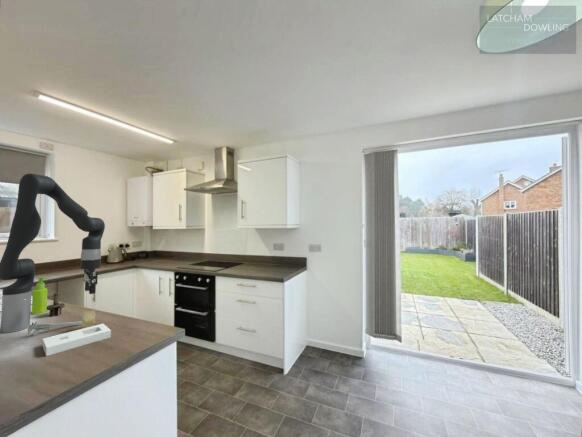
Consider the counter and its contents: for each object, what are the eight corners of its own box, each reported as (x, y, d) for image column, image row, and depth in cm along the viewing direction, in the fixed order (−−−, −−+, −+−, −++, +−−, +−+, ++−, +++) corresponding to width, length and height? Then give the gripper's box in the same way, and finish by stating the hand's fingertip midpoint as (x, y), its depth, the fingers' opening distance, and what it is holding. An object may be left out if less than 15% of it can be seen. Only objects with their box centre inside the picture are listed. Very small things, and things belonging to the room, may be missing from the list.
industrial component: (64, 315, 132) (65, 293, 132) (45, 318, 127) (46, 295, 127) (64, 310, 138) (65, 290, 139) (46, 314, 133) (47, 292, 134)
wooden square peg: (82, 329, 113) (82, 312, 114) (92, 326, 116) (93, 309, 117) (84, 331, 111) (84, 314, 111) (95, 328, 114) (95, 311, 114)
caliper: (27, 338, 104) (28, 323, 105) (27, 337, 105) (27, 323, 105) (87, 323, 121) (87, 310, 121) (86, 322, 121) (86, 310, 122)
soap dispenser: (40, 314, 132) (42, 278, 133) (28, 314, 132) (30, 278, 133) (51, 310, 138) (52, 276, 139) (39, 310, 138) (41, 276, 139)
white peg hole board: (42, 346, 97) (42, 338, 97) (103, 329, 112) (103, 323, 112) (46, 356, 89) (46, 347, 89) (110, 337, 105) (111, 330, 105)
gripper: (77, 258, 116) (76, 291, 116) (84, 260, 108) (83, 296, 107) (96, 256, 122) (95, 288, 122) (104, 258, 113) (103, 292, 113)
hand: (89, 292), depth 114 cm, fingers open, 8 cm apart
